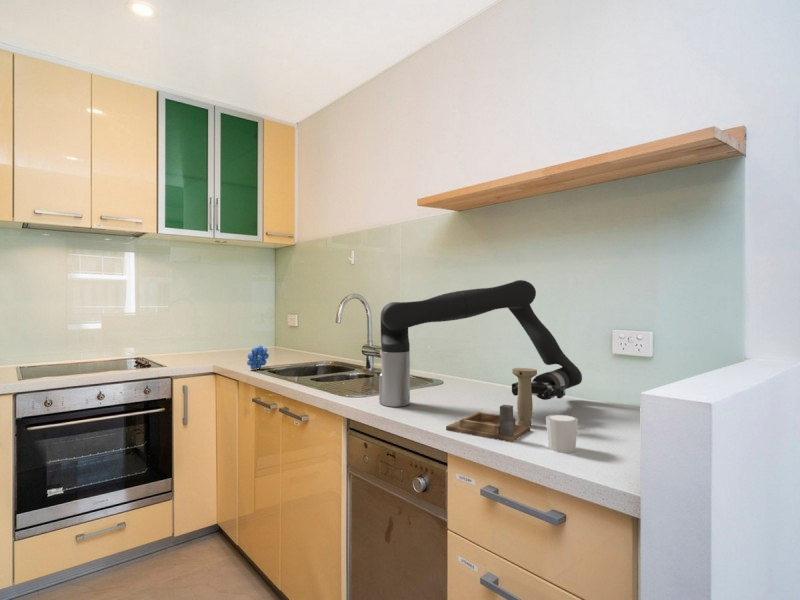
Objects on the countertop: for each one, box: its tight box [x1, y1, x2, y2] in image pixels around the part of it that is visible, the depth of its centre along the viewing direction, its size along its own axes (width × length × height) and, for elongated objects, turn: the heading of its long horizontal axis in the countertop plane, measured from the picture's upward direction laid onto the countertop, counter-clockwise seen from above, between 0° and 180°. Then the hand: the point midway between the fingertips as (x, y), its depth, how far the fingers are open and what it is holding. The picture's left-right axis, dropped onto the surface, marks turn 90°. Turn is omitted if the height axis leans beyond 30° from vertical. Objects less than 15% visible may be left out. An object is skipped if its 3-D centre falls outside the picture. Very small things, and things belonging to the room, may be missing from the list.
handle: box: [512, 367, 538, 427], centre depth 123 cm, size 5×6×15 cm
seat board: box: [445, 404, 531, 443], centre depth 118 cm, size 18×12×8 cm, turn 54°
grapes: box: [246, 345, 270, 370], centre depth 230 cm, size 12×7×12 cm, turn 136°
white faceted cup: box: [545, 414, 579, 454], centre depth 103 cm, size 7×7×7 cm
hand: (529, 393), depth 126 cm, fingers open, 8 cm apart
